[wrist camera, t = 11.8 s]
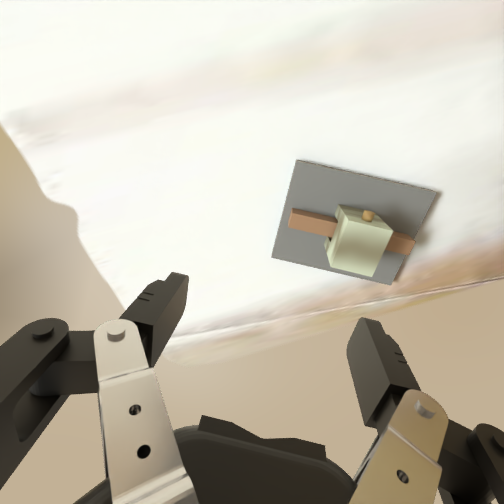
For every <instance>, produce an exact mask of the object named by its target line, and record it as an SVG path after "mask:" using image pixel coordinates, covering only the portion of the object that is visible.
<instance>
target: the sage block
mask: <svg viewBox="0 0 504 504" xmlns="http://www.w3.org/2000/svg"><path fill="white" fill-rule="evenodd" d="M334 215H335V217H336V219H337V220H338V223H337V226H336V229H335V231H334V234H333V237H326V240H325V243H324V246H325V250H326V253H327V256H328V260H329V263H330V266H331V267H332V268H336V269H341V270H345V271H349V272H353V273H357V274H361V275H365V276H369V277H372V276H373V274H374V272H375V269H376V267H377V265H378V263H379V261H380V259H381V257H382V254H383V252H384V250H385V248H386V246H387V244H388V242H389V239H390V237H391V235H392V233H393V230H392V229H391V228H390V227H389V226H388V225H387V224H386V223H385V222H384V221H383V220H382V219H381V218H380V217H379V216H378V215H377V214H376V213H374V212H372V211H368V210H361V209H357V208H353V207H349V206H344V205H340V204H338V206H337V209H336V212H335V214H334Z"/></svg>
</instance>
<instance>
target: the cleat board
mask: <svg viewBox="0 0 504 504" xmlns="http://www.w3.org/2000/svg"><path fill="white" fill-rule="evenodd" d="M435 195H436V192H434V191H432V190H428V189H424V188H419V187H415V186H410V185H406V184H401V183H397V182H393V181H388V180H384V179H379V178H375V177H370V176H366V175H362V174H357V173H353V172H348V171H344V170H339V169H335V168H331V167H326V166H322V165H317V164H313V163H308V162H304V161H300V160H296V163H295V166H294V170H293V174H292V178H291V182H290V186H289V190H288V193H287V197H286V201H285V205H284V209H283V213H282V217H281V220H280V224H279V228H278V232H277V236H276V240H275V244H274V247H273V251H272V257H271V258H276V259H280V260H284V261H289V262H293V263H297V264H301V265H306V266H310V267H314V268H318V269H323V270H327V271H331V272H336V273H340V274H344V275H348V276H353V277H357V278H361V279H365V280H370V281H374V282H378V283H382V284H387V285H391V284H392V282H393V280H394V278H395V276H396V274H397V272H398V270H399V268H400V266H401V264H402V262H403V260H404V258H405V256H406V255H409V254H410V252H411V250H412V248H413V246H414V244H415V242H416V241H415V240H414V238H415V236H416V234H417V232H418V230H419V228H420V226H421V224H422V222H423V220H424V218H425V216H426V214H427V212H428V210H429V208H430V206H431V204H432V201H433V199H434V197H435ZM338 204H340V205H344V206H349V207H353V208H357V209H361V210H368V211H372V212H374V213H376V214H377V215H378V216H379V217H380V218H381V219H382V220H383V221H384V222H385V223H386V224H387V225H388V226H389V227H390V228H391V229H392V230H393V233H392V235H391V237H390V239H389V242H388V244H387V246H386V248H385V250H384V252H383V254H382V257H381V259H380V261H379V263H378V265H377V267H376V269H375V272H374V274H373V276H372V277H369V276H365V275H361V274H357V273H353V272H349V271H345V270H341V269H336V268H332V267H331V266H330V263H329V260H328V256H327V253H326V250H325V246H324V243H325V240H326V237H333V234H334V231H335V229H336V226H337V223H338V220H337V219H336V217H335V215H334V214H335V212H336V209H337V206H338Z"/></svg>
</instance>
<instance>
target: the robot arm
mask: <svg viewBox="0 0 504 504" xmlns="http://www.w3.org/2000/svg"><path fill="white" fill-rule="evenodd" d="M188 282H189V276H188V275H183V274H179V273H175V272H172V273H171V274H170V275H169V276H168V278H167V279H166V280H165V281H161V280H157V281H155V282H153V283H151V284H149V285H148V286H147V287H146V288H145V289H144V290H143V291H142V293H141V294H140V295H139V296H138V297H137V299H135V301H134V302H133V303H132V304H131V305H130V306H129V307H128V309H127V310H126V311H125V312H124V313H123V314H122V316H121V317H120V318H119V319H115V320H110V321H107V322H105V323H103V324H101V325H100V326H99V327H98V328H97V329H96V330H94V331H69V327H68V324H67V323H66V322H65V321H63V320H61V319H56V318H48V319H41V320H37V321H35V322H32V323H30V324H28V325H26V326H24V327H23V328H22V329H21V330H19V331H18V332H17V333H16V334H14V335H13V336H12V337H11V338H10V339H9V340H7V341H6V342H5V343H4V344H2V345H1V346H0V490H1V488H2V487H3V486H4V484H5V483H6V481H7V480H8V479H9V477H10V476H11V475H12V473H13V472H14V471H15V469H16V468H17V466H18V465H19V464H20V462H21V461H22V459H23V458H24V457H25V456H26V454H27V453H28V451H29V450H30V449H31V447H32V446H33V445H34V443H35V442H36V440H37V439H38V438H39V436H40V435H41V433H42V432H43V431H44V429H45V428H46V427H47V425H48V424H49V423H50V421H51V420H52V419H53V417H54V416H55V414H56V413H57V412H58V410H59V409H60V408H61V406H62V405H63V404H64V402H65V401H66V399H67V398H68V397H69V395H71V394H85V393H97V395H98V405H99V414H100V425H101V434H102V445H103V457H104V468H105V478H106V479H105V480H104V481H102V482H101V483H100V484H98V485H97V486H96V487H94V488H93V489H92V490H90V491H89V492H88V493H86V494H85V495H84V496H83V497H81V498H80V499H79V500H77V501H76V502H75V503H73V504H433V503H434V500H435V496H436V492H437V488H438V490H439V493H440V495H441V498H442V501H443V504H491V501H492V500H494V499H495V498H496V499H497V502H498V503H499V504H504V432H503V431H501V430H500V429H498V428H496V427H494V426H492V425H489V424H479V425H477V426H476V428H475V429H474V430H473V431H472V430H470V429H468V428H466V427H464V426H462V425H460V424H458V423H456V422H454V421H452V420H450V419H448V416H447V414H446V412H445V411H444V409H443V408H442V406H441V405H440V404H439V403H438V402H437V401H436V400H435V399H433V398H432V397H431V396H429V395H428V394H426V393H424V392H422V391H421V389H420V387H419V385H418V383H417V381H416V379H415V377H414V375H413V373H412V372H411V369H410V367H409V365H408V364H407V361H406V360H405V357H404V356H403V353H402V351H401V349H400V348H399V345H398V344H397V343H396V342H395V341H394V340H393V339H392V338H391V337H390V336H389V335H386V334H385V332H384V330H383V328H382V325H381V323H380V322H379V321H376V320H371V319H367V318H363V317H362V318H360V319H359V321H358V323H357V325H356V327H355V329H354V331H353V334H352V336H351V338H350V340H349V342H348V345H347V359H348V363H349V366H350V370H351V374H352V378H353V382H354V386H355V390H356V394H357V398H358V401H359V405H360V409H361V413H362V417H363V421H364V425H365V426H368V427H372V428H376V429H377V432H378V435H377V437H376V438H375V440H374V442H373V443H372V445H371V447H370V449H369V451H368V452H367V454H366V456H365V458H364V460H363V461H362V463H361V465H360V467H359V469H358V471H357V473H356V474H355V476H354V478H353V479H352V478H351V477H350V476H349V475H348V474H347V473H346V472H345V471H344V470H343V469H342V468H340V467H339V466H338V465H337V464H335V463H334V462H332V461H331V460H330V459H328V458H326V452H325V446H324V445H321V444H317V443H313V442H309V441H305V440H301V439H297V438H276V439H263V438H260V437H258V436H256V435H254V434H252V433H250V432H249V431H247V430H245V429H243V428H241V427H239V426H238V425H235V424H234V423H232V422H228V421H224V420H220V419H216V418H212V417H208V416H204V415H202V417H201V420H200V423H199V425H193V426H187V427H183V428H179V429H176V430H174V431H173V430H172V426H171V423H170V420H169V416H168V413H167V410H166V407H165V404H164V400H163V397H162V393H161V390H160V387H159V384H158V380H157V377H156V374H155V371H154V368H153V367H154V366H155V364H156V362H157V360H158V358H159V357H160V355H161V353H162V351H163V349H164V348H165V346H166V344H167V342H168V340H169V339H170V337H171V335H172V333H173V331H174V330H175V328H176V326H177V324H178V322H179V321H180V319H181V317H182V315H183V313H184V310H185V306H186V299H187V291H188Z"/></svg>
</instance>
